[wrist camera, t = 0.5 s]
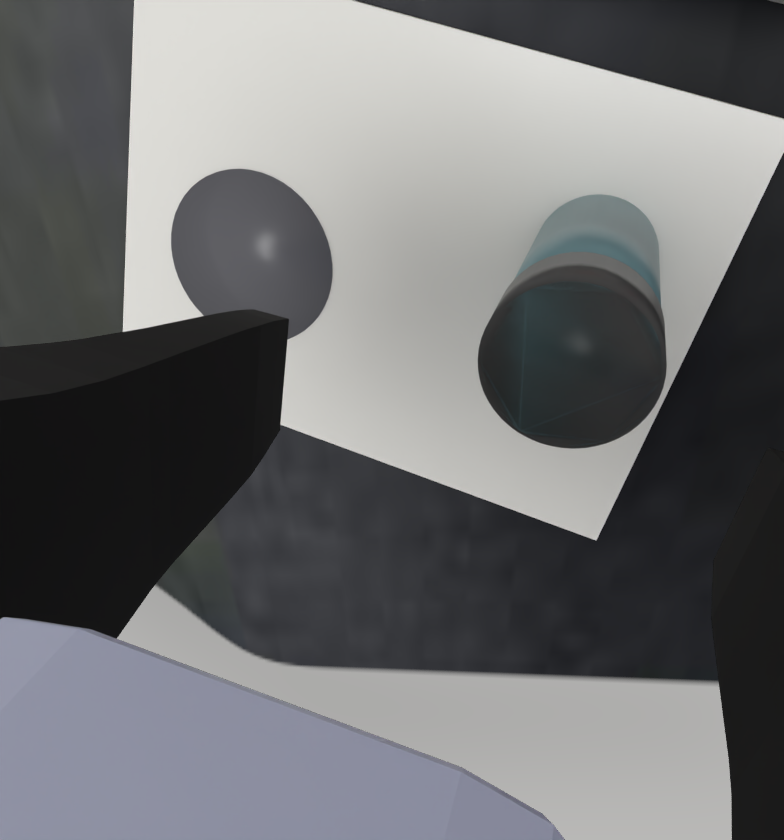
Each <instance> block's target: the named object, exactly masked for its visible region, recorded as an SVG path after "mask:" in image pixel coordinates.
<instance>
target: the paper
mask: <svg viewBox="0 0 784 840" xmlns="http://www.w3.org/2000/svg"><path fill="white" fill-rule="evenodd" d="M783 153H784V118H781V117H777V116H774V115H770V114H767V113H763V112H759V111H756V110H752V109H748V108H745V107H741V106H737V105H734V104H730V103H727V102H723V101H719V100H716V99H712V98H708V97H705V96H701V95H697V94H694V93H690V92H686V91H683V90H679V89H676V88H672V87H668V86H665V85H661V84H657V83H654V82H650V81H646V80H643V79H639V78H636V77H632V76H628V75H625V74H621V73H617V72H614V71H610V70H606V69H603V68H599V67H595V66H592V65H588V64H585V63H581V62H577V61H574V60H570V59H566V58H563V57H559V56H555V55H552V54H548V53H545V52H541V51H537V50H534V49H530V48H526V47H523V46H519V45H515V44H512V43H508V42H504V41H501V40H497V39H494V38H490V37H486V36H483V35H479V34H475V33H472V32H468V31H464V30H461V29H457V28H454V27H450V26H446V25H443V24H439V23H435V22H432V21H428V20H424V19H421V18H417V17H413V16H410V15H406V14H403V13H399V12H395V11H392V10H388V9H384V8H381V7H377V6H373V5H370V4H366V3H362V2H359V1H355V0H134V23H133V52H132V81H131V110H130V139H129V168H128V197H127V226H126V255H125V284H124V313H123V332H126V331H131V330H137V329H143V328H148V327H153V326H158V325H163V324H167V323H172V322H177V321H182V320H187V319H192V318H196V317H201V316H206V315H211V314H217V313H222V312H228V311H235V310H248V309H255V310H258V311H262V312H266V313H269V314H273V315H277V316H281V317H284V318H288V319H289V327H288V339H287V351H286V363H285V375H284V387H283V399H282V410H281V422H280V425H283V426H286V427H288V428H291V429H294V430H297V431H299V432H302V433H305V434H308V435H310V436H313V437H316V438H318V439H321V440H324V441H327V442H329V443H332V444H335V445H337V446H340V447H343V448H346V449H348V450H351V451H354V452H356V453H359V454H362V455H365V456H367V457H370V458H373V459H376V460H378V461H381V462H384V463H386V464H389V465H392V466H395V467H397V468H400V469H403V470H405V471H408V472H411V473H414V474H416V475H419V476H422V477H425V478H427V479H430V480H433V481H435V482H438V483H441V484H444V485H446V486H449V487H452V488H454V489H457V490H460V491H463V492H465V493H468V494H471V495H474V496H476V497H479V498H482V499H484V500H487V501H490V502H493V503H495V504H498V505H501V506H503V507H506V508H509V509H512V510H514V511H517V512H520V513H523V514H525V515H528V516H531V517H533V518H536V519H539V520H542V521H544V522H547V523H550V524H552V525H555V526H558V527H561V528H563V529H566V530H569V531H571V532H574V533H577V534H580V535H582V536H585V537H588V538H591V539H593V540H597V538H598V536H599V534H600V532H601V530H602V528H603V526H604V524H605V521H606V519H607V517H608V515H609V513H610V511H611V509H612V507H613V505H614V503H615V501H616V499H617V497H618V495H619V492H620V490H621V488H622V486H623V484H624V482H625V480H626V478H627V476H628V474H629V472H630V470H631V468H632V466H633V463H634V461H635V459H636V457H637V455H638V453H639V451H640V449H641V447H642V445H643V443H644V441H645V439H646V436H647V434H648V432H649V430H650V428H651V426H652V424H653V422H654V420H655V418H656V416H657V414H658V412H659V410H660V407H661V405H662V403H663V401H664V399H665V397H666V395H667V393H668V391H669V389H670V387H671V385H672V383H673V381H674V378H675V376H676V374H677V372H678V370H679V368H680V366H681V364H682V362H683V360H684V358H685V356H686V354H687V352H688V349H689V347H690V345H691V343H692V341H693V339H694V337H695V335H696V333H697V331H698V329H699V327H700V325H701V323H702V320H703V318H704V316H705V314H706V312H707V310H708V308H709V306H710V304H711V302H712V300H713V298H714V296H715V293H716V291H717V289H718V287H719V285H720V283H721V281H722V279H723V277H724V275H725V273H726V271H727V269H728V267H729V264H730V262H731V260H732V258H733V256H734V254H735V252H736V250H737V248H738V246H739V244H740V242H741V240H742V238H743V235H744V233H745V231H746V229H747V227H748V225H749V223H750V221H751V219H752V217H753V215H754V213H755V211H756V209H757V206H758V204H759V202H760V200H761V198H762V196H763V194H764V192H765V190H766V188H767V186H768V184H769V182H770V179H771V177H772V175H773V173H774V171H775V169H776V167H777V165H778V163H779V161H780V159H781V157H782V155H783ZM596 194H602V195H611V196H615V197H619V198H621V199H624V200H626V201H628V202H630V203H632V204H633V205H635V206H636V207H637V208H639V209H640V210H641V211H642V212H643V213H644V214H645V215H646V217H647V218H648V219H649V221H650V222H651V224H652V226H653V228H654V230H655V233H656V235H657V239H658V245H659V264H660V290H661V308H662V312H663V316H664V323H665V340H666V361H667V368H666V378H665V382H664V387H663V390H662V392H661V395H660V397H659V399H658V401H657V403H656V405H655V406H654V408H653V410H652V411H651V412H650V413H649V415H648V416H647V417H646V418H645V419H644V420H643V421H642V422H641V423H640V424H639V425H638V426H637V427H636V428H634V429H633V430H632V431H630V432H629V433H627V434H626V435H624V436H622V437H620V438H618V439H616V440H614V441H611V442H609V443H606V444H603V445H599V446H595V447H589V448H577V449H570V448H559V447H553V446H549V445H545V444H542V443H538V442H536V441H534V440H531V439H529V438H527V437H525V436H523V435H522V434H520V433H518V432H517V431H515V430H514V429H513V428H511V427H510V426H509V425H508V424H507V423H505V422H504V421H503V420H502V419H501V418H500V417H499V415H498V414H497V413H496V412H495V411H494V409H493V408H492V406H491V405H490V403H489V402H488V400H487V398H486V396H485V394H484V392H483V389H482V386H481V383H480V378H479V373H478V350H479V345H480V341H481V338H482V335H483V333H484V330H485V328H486V326H487V324H488V322H489V320H490V318H491V317H492V315H493V313H494V311H495V309H496V307H497V305H498V303H499V302H500V300H501V298H502V296H503V294H504V293H505V291H506V289H507V288H508V287H509V285H510V284H511V283H512V281H513V280H514V279H515V277H516V275H517V273H518V271H519V269H520V267H521V265H522V263H523V261H524V259H525V258H526V256H527V254H528V252H529V250H530V248H531V246H532V244H533V242H534V240H535V238H536V236H537V235H538V233H539V231H540V229H541V227H542V225H543V224H544V222H545V221H546V220H547V218H548V217H549V216H550V215H551V214H552V213H553V212H554V211H555V210H557V209H558V208H559V207H560V206H562V205H564V204H565V203H567V202H569V201H571V200H573V199H576V198H579V197H582V196H587V195H596Z"/></svg>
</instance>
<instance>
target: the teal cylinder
mask: <svg viewBox="0 0 784 840" xmlns="http://www.w3.org/2000/svg"><path fill="white" fill-rule="evenodd" d="M666 368H667V361H666V340H665V323H664V316H663V312H662V308H661V290H660V264H659V245H658V239H657V235H656V233H655V230H654V228H653V226H652V224H651V222H650V221H649V219H648V218H647V217H646V215H645V214H644V213H643V212H642V211H641V210H640V209H639V208H637V207H636V206H635V205H633V204H632V203H630V202H628V201H626V200H624V199H621V198H619V197H615V196H611V195H602V194H596V195H587V196H582V197H579V198H576V199H573V200H571V201H569V202H567V203H565V204H564V205H562V206H560V207H559V208H558V209H557V210H555V211H554V212H553V213H552V214H551V215H550V216H549V217H548V218H547V220H546V221H545V222H544V224H543V225H542V227H541V229H540V231H539V233H538V235H537V236H536V238H535V240H534V242H533V244H532V246H531V248H530V250H529V252H528V254H527V256H526V258H525V259H524V261H523V263H522V265H521V267H520V269H519V271H518V273H517V275H516V277H515V279H514V280H513V281H512V283H511V284H510V285H509V287H508V288H507V289H506V291H505V293H504V294H503V296H502V298H501V300H500V302H499V303H498V305H497V307H496V309H495V311H494V313H493V315H492V317H491V318H490V320H489V322H488V324H487V326H486V328H485V330H484V333H483V335H482V338H481V341H480V345H479V350H478V373H479V378H480V383H481V386H482V389H483V392H484V394H485V396H486V398H487V400H488V402H489V403H490V405H491V406H492V408H493V409H494V411H495V412H496V413H497V414H498V415H499V417H500V418H501V419H502V420H503V421H504V422H505V423H507V424H508V425H509V426H510V427H511V428H513V429H514V430H515V431H517V432H518V433H520V434H522V435H523V436H525V437H527V438H529V439H531V440H534V441H536V442H538V443H542V444H545V445H549V446H553V447H559V448H570V449H577V448H589V447H595V446H599V445H603V444H606V443H609V442H611V441H614V440H616V439H618V438H620V437H622V436H624V435H626V434H627V433H629V432H630V431H632V430H633V429H634V428H636V427H637V426H638V425H639V424H640V423H641V422H642V421H643V420H644V419H645V418H646V417H647V416H648V415H649V413H650V412H651V411H652V410H653V408H654V406H655V405H656V403H657V401H658V399H659V397H660V395H661V392H662V390H663V387H664V382H665V378H666Z"/></svg>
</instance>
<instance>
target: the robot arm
mask: <svg viewBox="0 0 784 840" xmlns="http://www.w3.org/2000/svg"><path fill="white" fill-rule="evenodd" d="M288 327H289V319H288V318H284V317H281V316H277V315H273V314H269V313H266V312H262V311H258V310H255V309H248V310H235V311H228V312H222V313H217V314H211V315H206V316H201V317H196V318H192V319H187V320H182V321H177V322H172V323H167V324H163V325H158V326H153V327H148V328H143V329H137V330H131V331H126V332H120V333H114V334H108V335H102V336H97V337H91V338H85V339H78V340H71V341H63V342H54V343H45V344H33V345H22V346H10V347H0V840H565V839H564V838H563V837H562V835H561V834H560V833H559V832H558V830H557V829H556V827H555V826H554V825H553V824H552V823H551V822H550V821H549V820H548V819H547V818H546V817H545V816H544V815H543V814H542V813H540V812H538V811H537V810H535V809H533V808H531V807H530V806H528V805H526V804H524V803H523V802H521V801H519V800H517V799H516V798H514V797H512V796H511V795H509V794H507V793H505V792H504V791H502V790H500V789H498V788H497V787H495V786H493V785H491V784H490V783H488V782H486V781H484V780H483V779H481V778H479V777H478V776H476V775H474V774H472V773H471V772H469V771H467V770H465V769H464V768H462V767H459V766H457V765H454V764H451V763H449V762H446V761H443V760H441V759H438V758H435V757H432V756H430V755H427V754H424V753H422V752H419V751H416V750H414V749H411V748H408V747H405V746H403V745H400V744H398V743H395V742H392V741H390V740H387V739H384V738H381V737H379V736H376V735H373V734H370V733H368V732H365V731H363V730H360V729H357V728H355V727H352V726H349V725H347V724H344V723H341V722H339V721H336V720H333V719H330V718H328V717H325V716H322V715H320V714H317V713H314V712H312V711H309V710H306V709H304V708H301V707H298V706H296V705H293V704H290V703H288V702H285V701H282V700H279V699H277V698H274V697H271V696H269V695H266V694H263V693H261V692H258V691H255V690H253V689H249V688H247V687H244V686H242V685H239V684H237V683H234V682H231V681H228V680H226V679H223V678H220V677H218V676H215V675H212V674H210V673H207V672H204V671H202V670H199V669H196V668H193V667H191V666H188V665H185V664H183V663H180V662H177V661H175V660H172V659H169V658H167V657H164V656H161V655H159V654H156V653H153V652H150V651H148V650H145V649H143V648H140V647H137V646H134V645H132V644H129V643H126V642H124V641H121V640H118V639H117V637H118V636H119V634H120V633H121V632H122V630H123V629H124V627H125V626H126V625H127V623H128V622H129V620H130V619H131V617H132V616H133V615H134V613H135V612H136V610H137V609H138V607H139V606H140V605H141V603H142V602H143V600H144V599H145V598H146V596H147V595H148V593H149V592H150V590H151V589H152V588H153V587H154V585H155V584H156V583H157V582H158V580H159V579H160V578H161V577H162V575H163V574H164V573H165V572H166V571H167V569H168V568H169V567H170V566H171V565H172V563H173V562H174V561H175V560H176V559H177V558H178V557H179V556H180V555H181V553H182V552H183V551H184V550H185V549H186V548H187V547H188V546H189V545H190V543H191V542H192V541H193V540H194V539H195V538H196V537H197V536H198V534H199V533H200V532H201V531H202V530H203V529H204V528H205V527H206V526H207V524H208V523H209V522H210V521H211V520H212V519H213V518H214V517H215V516H216V514H217V513H218V512H219V511H220V510H221V509H222V508H223V507H224V506H225V504H226V503H227V502H228V501H229V500H230V499H231V498H232V496H233V495H234V494H235V493H236V492H237V491H238V490H239V488H240V487H241V486H242V485H243V484H244V483H245V482H246V480H247V479H248V478H249V477H250V476H251V474H252V473H253V471H254V470H255V468H256V467H257V465H258V464H259V462H260V461H261V459H262V458H263V456H264V455H265V453H266V452H267V450H268V449H269V447H270V445H271V444H272V442H273V440H274V439H275V437H276V436H277V434H278V432H279V431H280V422H281V410H282V399H283V387H284V375H285V363H286V351H287V339H288ZM711 620H712V629H713V638H714V647H715V655H716V663H717V671H718V679H719V687H720V694H721V702H722V710H723V718H724V726H725V733H726V741H727V749H728V757H729V767H730V779H731V793H732V840H784V452H782V451H779V450H775V449H771V448H767V450H766V452H765V454H764V456H763V459H762V461H761V463H760V465H759V467H758V469H757V471H756V473H755V475H754V477H753V479H752V481H751V483H750V486H749V488H748V490H747V492H746V494H745V496H744V498H743V500H742V502H741V504H740V506H739V508H738V511H737V513H736V515H735V517H734V519H733V521H732V523H731V525H730V527H729V529H728V531H727V533H726V535H725V538H724V540H723V542H722V544H721V546H720V548H719V550H718V552H717V554H716V556H715V558H714V563H713V582H712V616H711Z"/></svg>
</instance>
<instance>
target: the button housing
mask: <svg viewBox="0 0 784 840" xmlns="http://www.w3.org/2000/svg"><path fill="white" fill-rule="evenodd" d="M769 1H773V2H777V3H781V4H784V0H769Z"/></svg>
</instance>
